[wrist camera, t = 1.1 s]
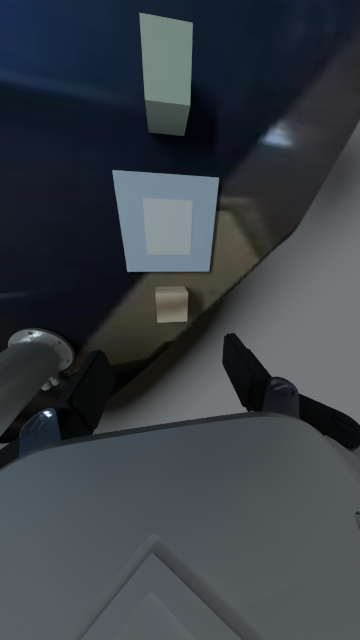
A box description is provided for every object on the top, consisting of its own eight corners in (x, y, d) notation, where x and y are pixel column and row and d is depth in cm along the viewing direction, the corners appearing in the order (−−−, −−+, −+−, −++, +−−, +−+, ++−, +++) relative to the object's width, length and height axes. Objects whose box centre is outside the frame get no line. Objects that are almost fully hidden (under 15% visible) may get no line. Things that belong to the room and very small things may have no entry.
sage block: (184, 136, 20) (190, 105, 16) (148, 132, 20) (145, 99, 15) (185, 78, 18) (192, 23, 14) (145, 72, 17) (139, 13, 13)
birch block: (183, 311, 33) (187, 321, 29) (158, 312, 32) (157, 322, 28) (184, 286, 30) (188, 292, 26) (156, 286, 30) (155, 293, 25)
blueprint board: (207, 270, 29) (209, 271, 28) (128, 270, 28) (127, 271, 27) (216, 180, 23) (219, 177, 22) (114, 173, 21) (111, 169, 20)
